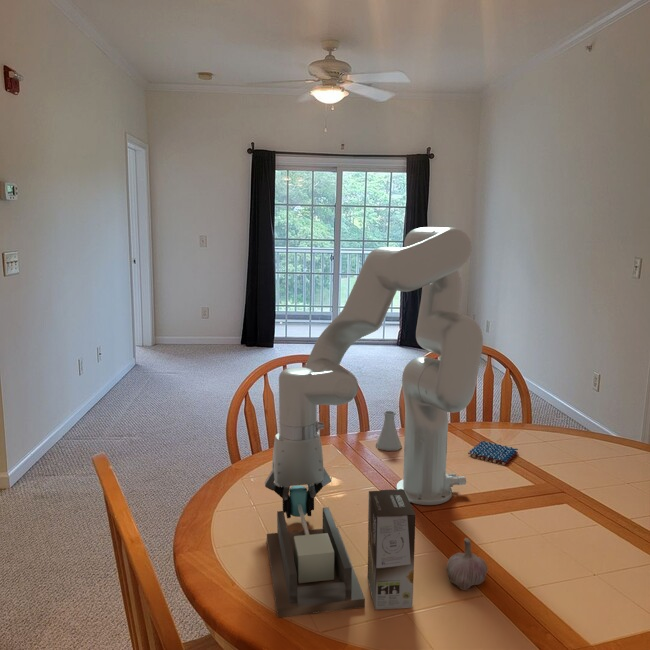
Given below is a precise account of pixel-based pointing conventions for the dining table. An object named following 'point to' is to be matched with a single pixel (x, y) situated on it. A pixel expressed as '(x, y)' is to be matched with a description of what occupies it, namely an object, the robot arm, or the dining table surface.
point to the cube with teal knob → (310, 545)
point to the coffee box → (391, 549)
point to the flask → (389, 434)
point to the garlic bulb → (466, 568)
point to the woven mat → (493, 452)
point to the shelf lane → (311, 594)
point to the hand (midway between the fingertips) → (298, 513)
